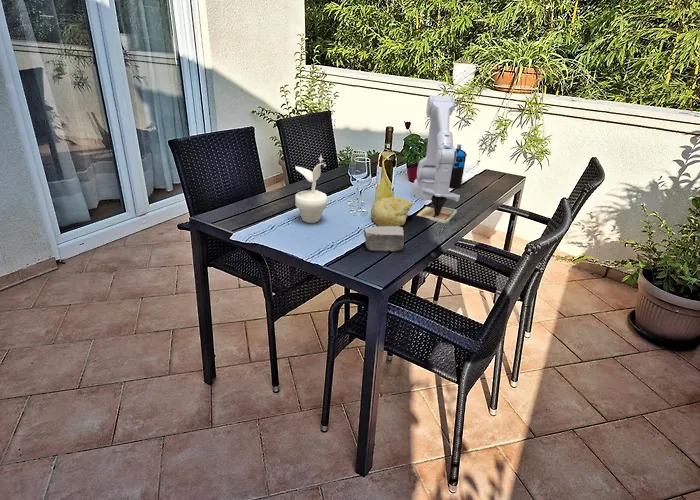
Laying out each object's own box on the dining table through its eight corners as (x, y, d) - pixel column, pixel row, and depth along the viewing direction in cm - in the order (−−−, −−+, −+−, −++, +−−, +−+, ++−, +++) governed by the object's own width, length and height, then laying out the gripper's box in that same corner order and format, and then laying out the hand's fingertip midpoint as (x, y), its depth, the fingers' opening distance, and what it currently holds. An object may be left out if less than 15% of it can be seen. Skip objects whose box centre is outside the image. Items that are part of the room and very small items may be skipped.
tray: (429, 223, 173) (430, 217, 172) (440, 212, 185) (441, 206, 184) (445, 227, 171) (446, 220, 170) (456, 215, 182) (457, 210, 181)
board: (415, 218, 177) (416, 215, 176) (425, 209, 186) (426, 206, 186) (430, 222, 174) (430, 218, 174) (439, 213, 184) (440, 209, 183)
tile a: (438, 217, 178) (439, 212, 177) (441, 214, 182) (442, 209, 181) (448, 219, 177) (449, 214, 176) (451, 216, 180) (452, 211, 179)
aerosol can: (440, 183, 220) (447, 142, 211) (455, 183, 222) (462, 142, 214) (449, 189, 213) (455, 146, 204) (464, 188, 215) (471, 146, 207)
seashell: (363, 226, 174) (383, 233, 160) (362, 198, 171) (382, 202, 158) (401, 220, 180) (422, 227, 167) (400, 193, 178) (422, 198, 165)
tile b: (434, 221, 174) (435, 216, 173) (437, 218, 177) (438, 213, 176) (444, 224, 172) (445, 219, 171) (447, 220, 176) (448, 216, 175)
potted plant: (332, 219, 171) (335, 153, 160) (314, 228, 162) (316, 160, 151) (304, 211, 177) (305, 147, 166) (286, 220, 168) (286, 153, 157)
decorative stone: (411, 251, 151) (395, 238, 159) (414, 232, 148) (397, 220, 155) (373, 258, 145) (358, 245, 152) (375, 239, 142) (360, 226, 149)
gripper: (420, 179, 168) (415, 213, 174) (458, 187, 162) (452, 222, 168) (426, 175, 174) (422, 208, 180) (463, 182, 168) (457, 216, 174)
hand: (437, 214), depth 174 cm, fingers closed
